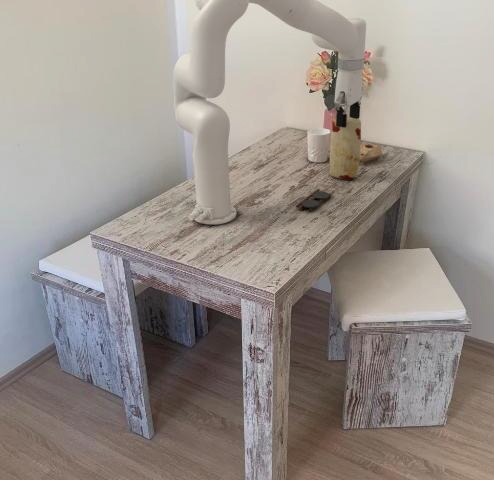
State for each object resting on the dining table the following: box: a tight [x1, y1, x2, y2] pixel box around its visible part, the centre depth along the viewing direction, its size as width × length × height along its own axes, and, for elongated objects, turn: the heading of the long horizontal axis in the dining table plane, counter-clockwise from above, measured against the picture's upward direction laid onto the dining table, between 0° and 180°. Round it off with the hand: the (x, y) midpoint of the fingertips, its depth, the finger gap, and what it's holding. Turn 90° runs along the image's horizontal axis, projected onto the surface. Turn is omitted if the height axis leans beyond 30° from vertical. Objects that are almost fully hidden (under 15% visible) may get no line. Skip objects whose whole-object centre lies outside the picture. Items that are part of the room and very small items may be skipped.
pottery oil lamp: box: [359, 142, 383, 163], centre depth 199 cm, size 9×12×7 cm
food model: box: [329, 116, 362, 181], centre depth 182 cm, size 10×7×20 cm
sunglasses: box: [295, 188, 331, 213], centre depth 171 cm, size 14×5×1 cm, turn 149°
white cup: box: [306, 127, 331, 164], centre depth 200 cm, size 8×8×10 cm
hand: (347, 122), depth 178 cm, fingers open, 9 cm apart
